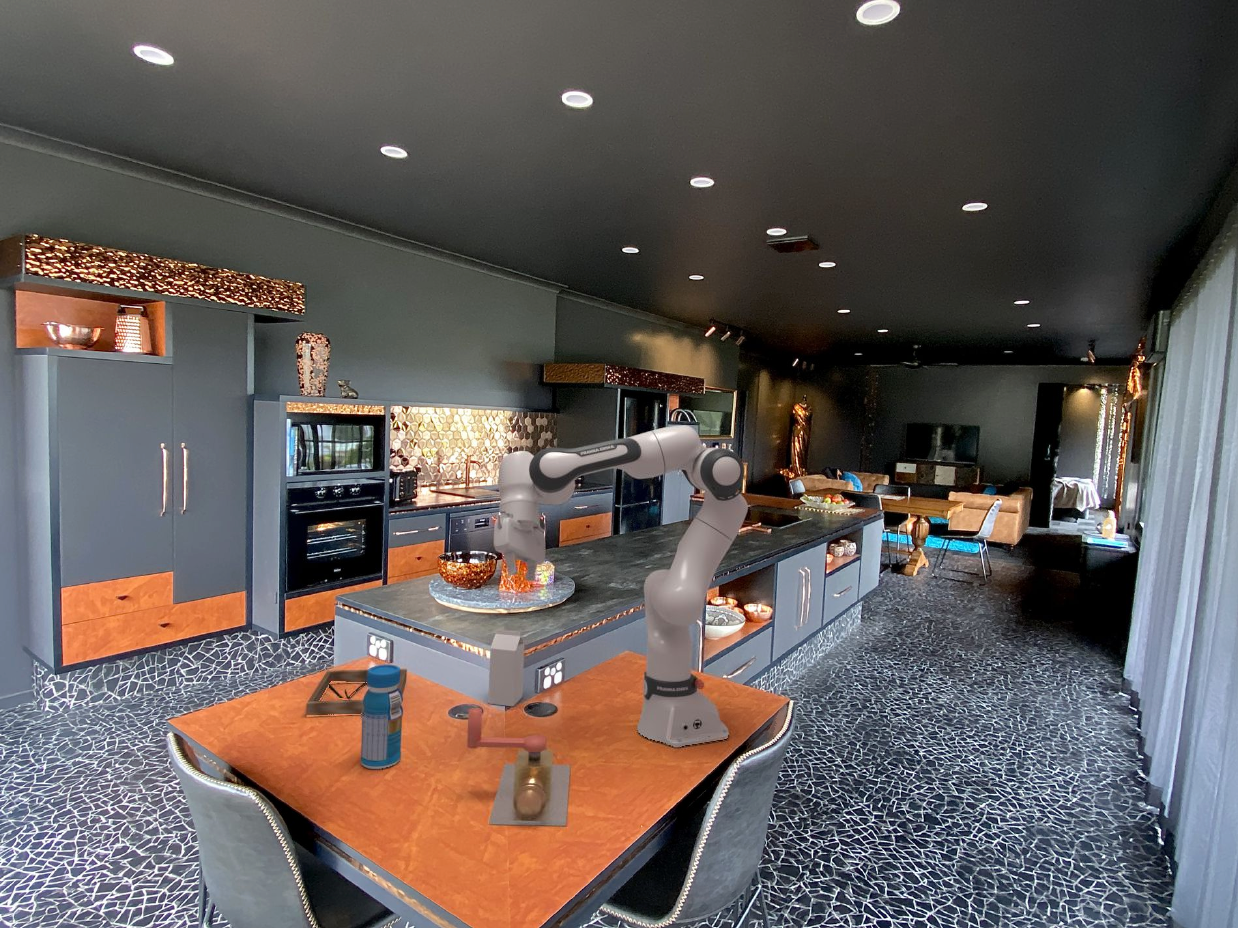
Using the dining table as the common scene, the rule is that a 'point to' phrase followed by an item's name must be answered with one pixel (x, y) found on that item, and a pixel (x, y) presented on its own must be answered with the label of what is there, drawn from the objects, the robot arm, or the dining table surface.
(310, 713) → the glasses tray
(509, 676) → the milk carton
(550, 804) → the valve body
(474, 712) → the lever
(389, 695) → the beverage bottle
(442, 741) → the dining table surface
